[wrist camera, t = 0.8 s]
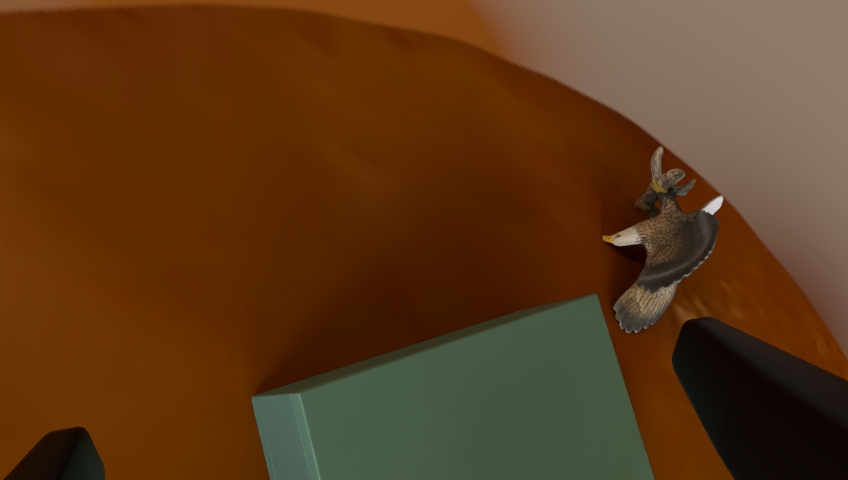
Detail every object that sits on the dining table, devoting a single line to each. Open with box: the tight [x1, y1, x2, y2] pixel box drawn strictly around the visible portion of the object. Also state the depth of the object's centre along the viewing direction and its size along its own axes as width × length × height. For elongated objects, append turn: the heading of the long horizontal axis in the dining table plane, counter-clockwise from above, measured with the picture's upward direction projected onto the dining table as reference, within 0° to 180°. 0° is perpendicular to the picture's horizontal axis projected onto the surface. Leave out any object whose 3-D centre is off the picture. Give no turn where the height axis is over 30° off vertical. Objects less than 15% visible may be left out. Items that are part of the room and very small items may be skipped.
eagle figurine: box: [602, 146, 723, 333], centre depth 33 cm, size 8×7×9 cm
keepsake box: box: [251, 297, 580, 480], centre depth 23 cm, size 12×15×4 cm
